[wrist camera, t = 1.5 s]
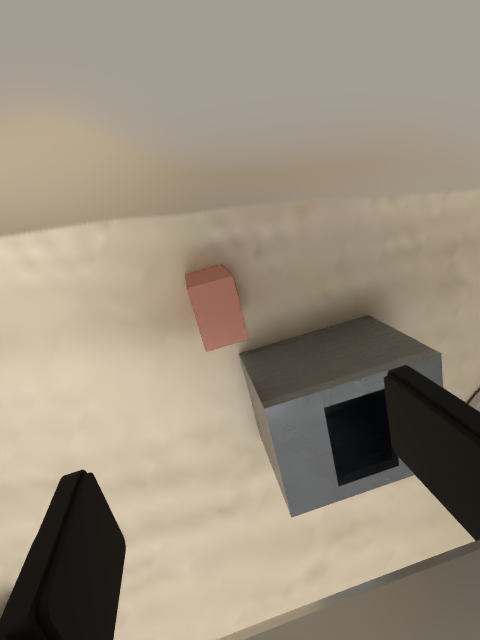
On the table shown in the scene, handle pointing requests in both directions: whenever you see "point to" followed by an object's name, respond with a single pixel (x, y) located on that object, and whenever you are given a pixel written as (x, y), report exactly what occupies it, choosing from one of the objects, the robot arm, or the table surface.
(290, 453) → the box
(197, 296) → the block
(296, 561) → the table surface
